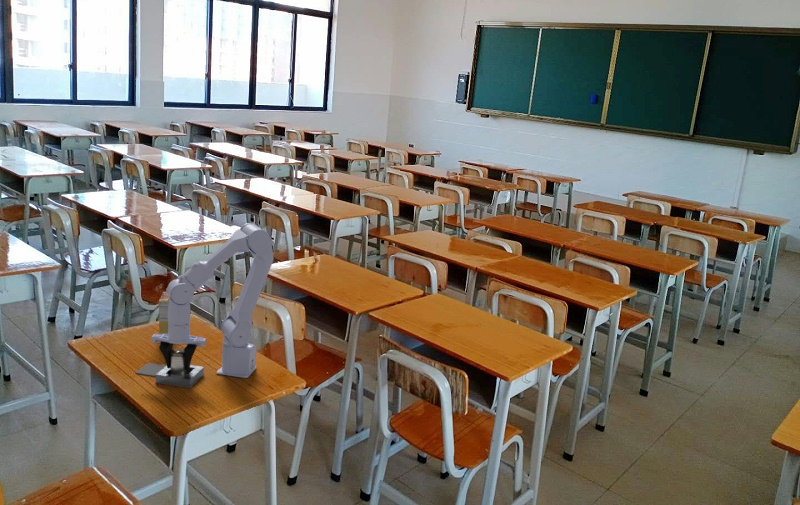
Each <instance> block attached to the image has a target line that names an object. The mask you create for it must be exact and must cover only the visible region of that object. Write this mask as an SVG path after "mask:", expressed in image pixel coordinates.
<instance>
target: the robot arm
mask: <svg viewBox="0 0 800 505" xmlns="http://www.w3.org/2000/svg"><path fill="white" fill-rule="evenodd" d="M237 253H250V254H251V256H252V257H253V261H252V263H251V266H250V268H249V271H248V272H247V273H248V274H246V275H247V276H246V278H245V280H244V284H243V286H242V288H241V290H240V293H239V297H238V298H237V301H236V303H235V306H234V308H233V309H231V310H230V311H229V312H228V314H227V316H226V318H225V319H223V320H222V322H221V324H220V325H221V326H220V331H221V332H222V334H223V335H224V336H223V339H222V345H221V346H222V347H221V350H222V352H221V367H220V368H219V369H217V371H216V374H217V375H223V376H229V377H237V378H243V379H247V378H249V377H250V376H251V374H253V373H254V371H256V369H257V347H256V345H255V344H252V343H249V342H250V340H251V337H252V331H251V329H252V326H253V317H252V316H253V313H254V310H255V308H256V305H257V303H258V300H259V297H260V295H261V293H262V289H263V288H264V285H265V282H266V280H267V277H268V276H269V273H270V271H271V267H272V265H273V262H274V260H275V259H274V251H273V239H272V238H271V236H270V235H269V233H268V232H267V231H265V230H264V229H262V228H260V227H259V226H258V225H257V224H255V223H252V222H247V223H245V224H243V225H242V226H241V227H240V229H239V228H238V229H237V230H235V231H234V232H233V234H232V235H231V236H230V237H229V238H228V239H227V240H226V241H225V242H223V244H222V245H221V246H220V247H219V248H218V249H217V250H216V251H214V253H212V254H211V255H210V256H209V257H208V258H207V259H206V260H198V261H197V262H195V261H194V262H193V263H192V264H190V266H191V267H190V268H189V269H188V270H187V271H185V273H183V274H182V275H179V276H178V277H177V278H176V279H173V280H171V281H170V282H169V283H168V285H167V288H166V289H165V290H166V291H165V292H167V294H168V295H169V296H170V298H169V307H168V334H159V333H153V335H152V336H151V343H152V344H156V343H159V346H158V349H159V351H160V352H161V354H162V356H163V358H164V361H165V364H166V366H167V368H170V351H171V350H173V349H174V348H173V347H174V345H184V346H185V345H186V346H185V347H184V348H183V349H184V351H185V370H188V369H189V368H190V365H191V362H192V360H193V356H194V354H195V351H196V350H197V347H198V346H199V347H200V348H205V346H206V344H207V338H206V337H200V336H196V335H191V334H190V332H191V301H192V300H193V298H194V294H195V292H197V291H198V290H199V289H200V288H201V287H203V286H204V285H206V283H208V281H209V280H211V279H212V278H213V277H214V273H215V270H216V269H218V268H219V267H220V266H221V265H222V264H224V263H225V262H226V261H228V260H229V259H230V258H232V257H233V256H234V255H235V254H237Z"/></svg>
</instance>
